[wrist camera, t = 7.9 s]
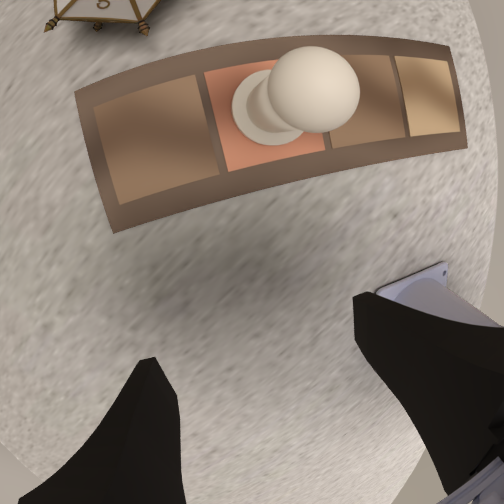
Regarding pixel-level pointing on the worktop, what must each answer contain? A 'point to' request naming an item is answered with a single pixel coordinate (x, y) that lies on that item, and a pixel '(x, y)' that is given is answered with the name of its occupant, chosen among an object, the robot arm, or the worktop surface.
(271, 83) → the pawn
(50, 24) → the game die
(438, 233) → the worktop surface
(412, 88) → the board
